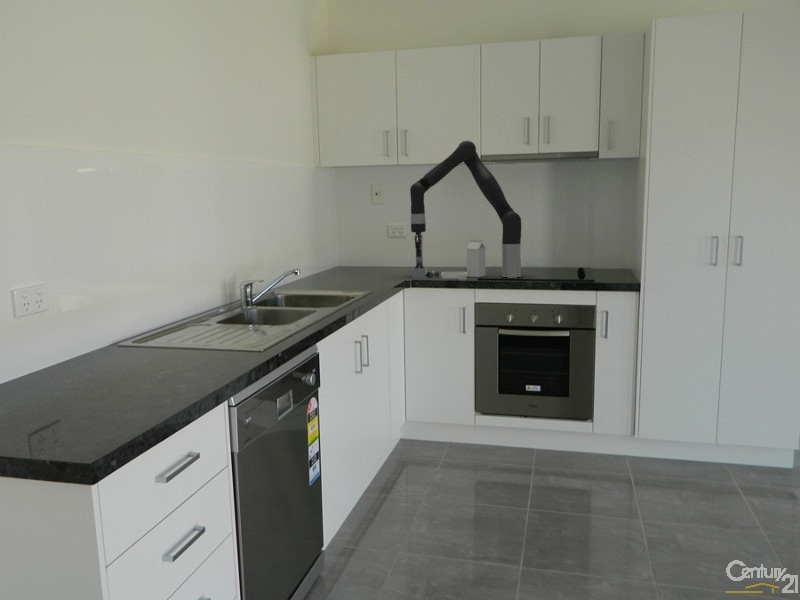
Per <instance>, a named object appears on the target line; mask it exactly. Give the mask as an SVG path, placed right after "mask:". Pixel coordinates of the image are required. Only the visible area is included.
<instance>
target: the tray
mask: <svg viewBox="0 0 800 600" xmlns="http://www.w3.org/2000/svg"><path fill="white" fill-rule="evenodd" d="M440 279H456V281H460V282H461V281H463V282H464V281H467V280H468V277H467V271H442V272H441V274H440Z"/></svg>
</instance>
